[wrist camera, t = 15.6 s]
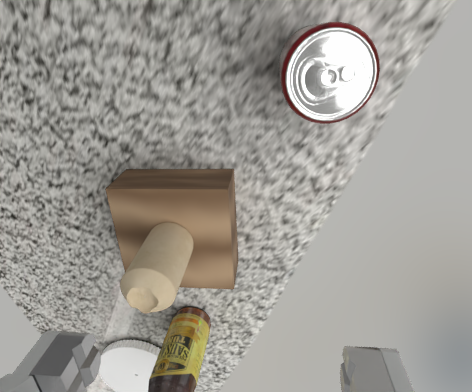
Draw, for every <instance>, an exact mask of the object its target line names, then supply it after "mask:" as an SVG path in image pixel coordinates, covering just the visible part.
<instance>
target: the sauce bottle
mask: <svg viewBox="0 0 472 392" xmlns="http://www.w3.org/2000/svg"><path fill="white" fill-rule="evenodd" d="M210 326H211V324H210V318H209V316H208V315H207V314H206V313H205V312H204V311H203V310H200V309H198V308H194V307H185V308H183V309H181V310H179V311H178V312H177V313H176V314H175V316H174V318H173V319H172V322H171V324H170V327H169V329H168V332H167V334H166V337H165V340H164V342H163V345H162V348H161V350H160V353H159V355H158V358H157V360H156V363H155V366H154V368H153V371H152V374H151V376H150V379H149V386H148V392H194V389H195V388H196V385H197V381H198V377H199V373H200V369H201V365H202V361H203V357H204V353H205V349H206V345H207V341H208V337H209V332H210Z"/></svg>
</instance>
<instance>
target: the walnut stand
mask: <svg viewBox="0 0 472 392" xmlns="http://www.w3.org/2000/svg"><path fill="white" fill-rule="evenodd" d="M106 193H107V198H108V202H109V206H110V210H111V214H112V219H113V223H114V227H115V231H116V236H117V240H118V244H119V248H120V252H121V257H122V261H123V265H124V269H125V272H126V270H127V269H128V267H129V266H130V264H131V262H132V261H133V259H134V257H135V256H136V254H137V253H138V251H139V249H140V248H141V246H142V244H143V243H144V241H145V239H146V238H147V236H148V235H149V233H150V232H151V230H152V229H153V228H154V227H155V226H157V225H158V224H161V223H165V222H171V223H176V224H179V225H181V226H183V227H184V228H185V229H187V230H188V231H189V233H190V234H191V236H192V238H193V243H194V245H193V251H192V254H191V256H190V259H189V262H188V265H187V267H186V270H185V273H184V275H183V278H182V281H181V284H180V286H179V287H188V288H215V289H234V285H235V278H236V272H237V265H238V244H237V223H236V203H235V182H234V169H126V170H125V171H124V172H123V173H122V174H121V175H120V176H119V177H118V178H117V179H115V180H114V181H113V182H112V183H111V184H110V185H109V186H108V187H107V188H106Z"/></svg>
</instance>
